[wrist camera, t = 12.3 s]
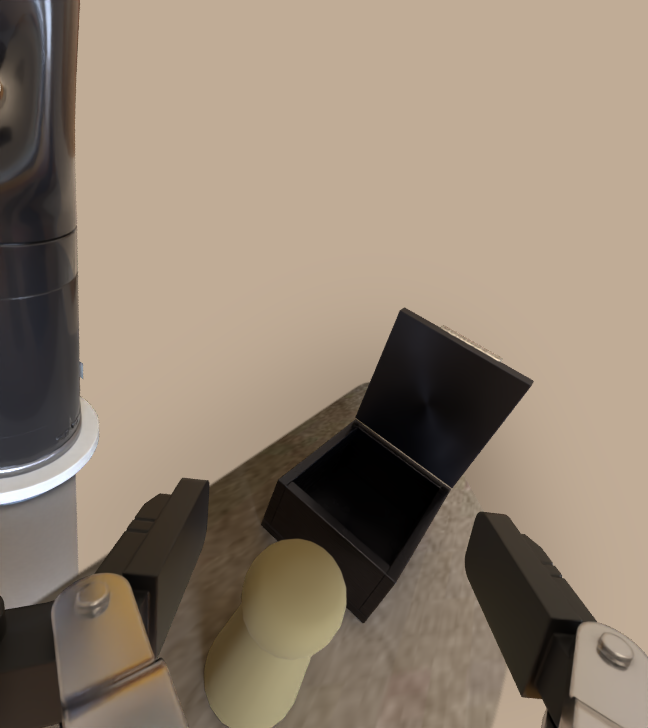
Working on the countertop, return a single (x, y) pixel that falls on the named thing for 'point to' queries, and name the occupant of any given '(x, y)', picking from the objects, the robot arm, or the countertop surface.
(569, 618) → the robot arm
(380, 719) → the countertop surface
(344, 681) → the countertop surface
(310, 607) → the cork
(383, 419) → the warmer lid
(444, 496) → the box
